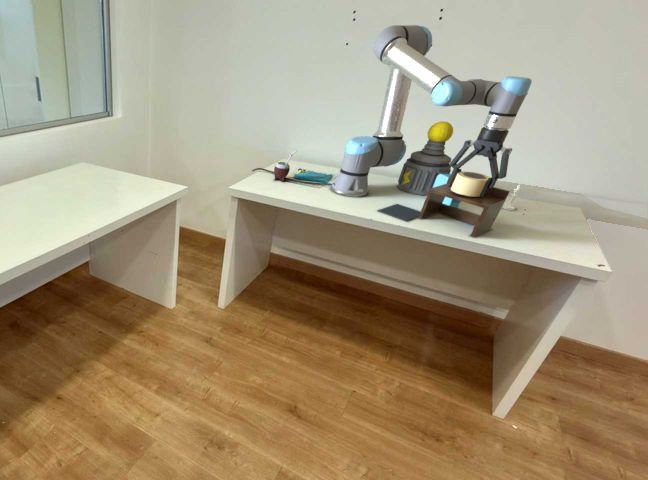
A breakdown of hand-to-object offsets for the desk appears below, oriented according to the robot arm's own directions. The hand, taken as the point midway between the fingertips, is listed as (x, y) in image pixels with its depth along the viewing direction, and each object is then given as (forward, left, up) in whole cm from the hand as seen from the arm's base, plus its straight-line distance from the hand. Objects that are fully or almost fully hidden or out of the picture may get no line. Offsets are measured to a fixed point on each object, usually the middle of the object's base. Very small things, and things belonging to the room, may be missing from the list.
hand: (466, 191), depth 149 cm
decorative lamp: (-28, +28, -13) cm, 42 cm away
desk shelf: (0, 0, -13) cm, 13 cm away
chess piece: (+4, +38, -13) cm, 40 cm away
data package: (-12, +17, -13) cm, 25 cm away
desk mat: (-16, -7, -13) cm, 22 cm away
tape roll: (0, 0, 0) cm, 0 cm away
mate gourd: (-70, -18, -13) cm, 74 cm away
